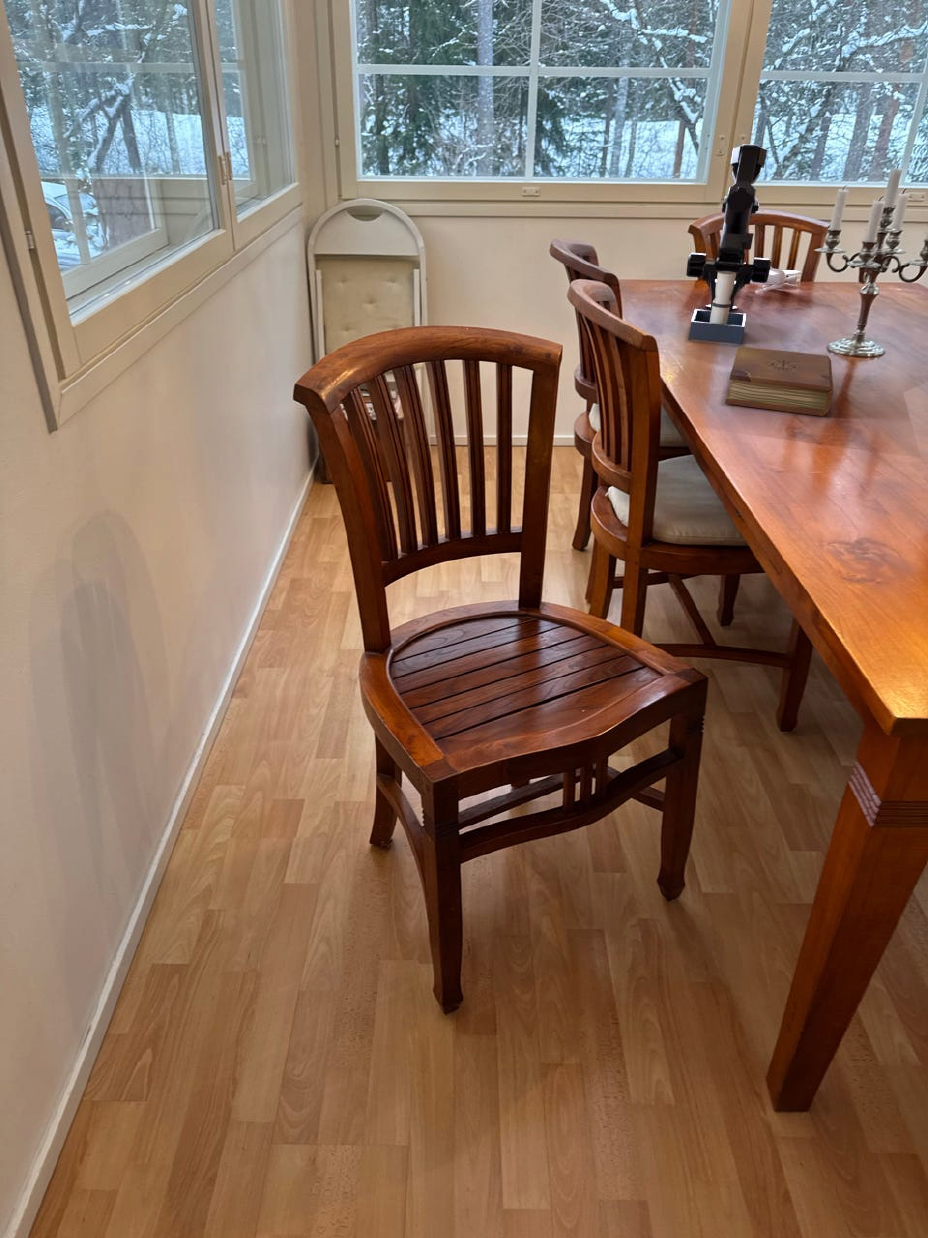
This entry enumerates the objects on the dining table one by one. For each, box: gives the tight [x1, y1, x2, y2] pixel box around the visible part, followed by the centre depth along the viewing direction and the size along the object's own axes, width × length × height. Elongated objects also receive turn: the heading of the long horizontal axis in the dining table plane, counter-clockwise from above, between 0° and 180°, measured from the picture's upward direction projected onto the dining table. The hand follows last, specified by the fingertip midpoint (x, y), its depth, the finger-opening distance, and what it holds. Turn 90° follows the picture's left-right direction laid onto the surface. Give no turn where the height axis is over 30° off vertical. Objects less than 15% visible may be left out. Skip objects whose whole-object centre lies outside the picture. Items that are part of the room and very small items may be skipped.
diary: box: [724, 345, 834, 417], centre depth 174 cm, size 23×19×6 cm
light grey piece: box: [709, 271, 736, 324], centre depth 205 cm, size 4×4×12 cm
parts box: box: [687, 308, 747, 345], centre depth 210 cm, size 13×12×5 cm
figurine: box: [749, 266, 802, 295], centre depth 255 cm, size 9×12×20 cm
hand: (722, 299), depth 203 cm, fingers closed on light grey piece, 4 cm apart
